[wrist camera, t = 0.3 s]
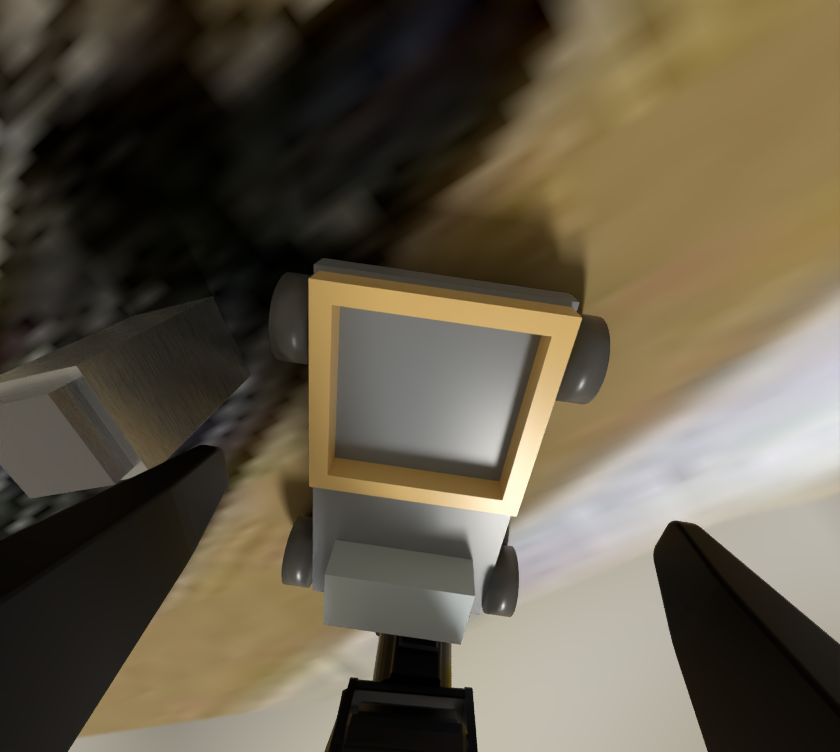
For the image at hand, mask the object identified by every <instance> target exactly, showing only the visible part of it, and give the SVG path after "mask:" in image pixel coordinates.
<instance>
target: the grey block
mask: <svg viewBox="0 0 840 752" xmlns="http://www.w3.org/2000/svg"><path fill="white" fill-rule="evenodd" d="M250 376H251V374H250V372H249V370H248V368H247V366H246V364H245V362H244V359H243V357H242V355H241V353H240V351H239V349H238V347H237V345H236V343H235V341H234V339H233V337H232V334H231V332H230V330H229V328H228V326H227V324H226V322H225V320H224V318H223V316H222V314H221V311H220V309H219V307H218V305H217V303H216V301H215V299H214V297H213V296H211V297H207V298H203V299H199V300H195V301H191V302H187V303H183V304H179V305H175V306H170V307H166V308H162V309H158V310H154V311H150V312H146V313H142V314H138V315H135V316H133V317H130V318H128V319H126V320H124V321H121V322H119V323H117V324H115V325H112V326H110V327H108V328H106V329H103V330H101V331H99V332H97V333H94V334H92V335H90V336H88V337H85V338H83V339H81V340H78V341H76V342H74V343H72V344H69V345H67V346H65V347H63V348H60V349H58V350H56V351H54V352H51V353H49V354H47V355H45V356H42V357H40V358H38V359H36V360H33V361H31V362H29V363H27V364H24V365H22V366H20V367H18V368H15V369H13V370H11V371H9V372H6V373H4V374H2V375H0V465H1V466H2V467H3V468H4V469H5V471H6V472H7V473H8V474H9V475H10V476H11V477H12V478H13V480H14V481H15V482H16V483H17V484H18V485H19V486H20V487H21V489H22V490H23V491H24V492H25V493H26V494H27V495H28V496H29V498H35V497H42V496H48V495H54V494H60V493H66V492H72V491H78V490H85V489H91V488H97V487H103V486H109V485H115V484H116V483H117V482H119V481H120V480H124V479H129V478H131V477H134V476H136V475H138V474H140V473H142V472H144V471H146V470H148V469H150V468H153V467H155V466H157V465H159V464H161V463H163V462H165V461H166V460H167V459H168V458H169V457H170V456H171V455H172V454H173V453H174V452H175V451H176V450H177V449H178V448H179V447H180V446H181V445H182V444H183V443H184V442H185V441H186V440H187V439H188V438H189V437H190V436H191V435H192V434H193V433H194V432H195V431H196V430H197V429H198V428H199V427H200V426H201V425H202V424H203V423H204V422H205V421H206V420H207V419H208V418H209V417H210V416H211V415H212V414H213V413H214V412H215V411H216V410H217V409H218V408H219V407H220V406H221V405H222V404H223V403H224V402H225V401H226V400H227V399H228V398H229V397H230V396H231V395H232V394H233V393H234V392H235V391H236V390H237V389H238V388H239V387H240V386H241V385H242V384H243V383H244V382H245V381H246V380H247V379H248V378H249V377H250Z"/></svg>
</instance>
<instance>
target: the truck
mask: <svg viewBox="0 0 840 752" xmlns="http://www.w3.org/2000/svg"><path fill="white" fill-rule="evenodd" d="M579 303H580V302H579V301H578V300H577V299H576V298H575V297H574V296H573V295H571V294H570V293H563V292H556V291H549V290H542V289H535V288H528V287H521V286H514V285H507V284H501V283H494V282H487V281H480V280H473V279H466V278H459V277H452V276H445V275H438V274H431V273H424V272H417V271H410V270H403V269H396V268H389V267H382V266H375V265H368V264H361V263H354V262H347V261H341V260H334V259H327V258H322V259H321V260H319V261H318V262H316V263H315V264H314V275H307V274H300V273H293V272H287V273H285V274H284V275H283V276H282V277H281V278H280V280H279V281H278V283H277V285H276V288H275V290H274V293H273V297H272V301H271V306H270V313H269V340H270V346H271V350H272V352H273V354H274V356H275V358H276V359H277V360H279V361H286V362H293V363H300V364H307V365H309V487H313V517H307V516H299V517H298V518H297V520H296V521H295V523H294V525H293V527H292V530H291V532H290V535H289V538H288V541H287V545H286V549H285V553H284V558H283V564H282V582H283V584H286V585H293V586H300V587H307V588H309V587H310V586H311V584H312V582H313V590H315V591H322V592H324V625H330V626H337V627H344V628H351V629H358V630H365V631H372V632H378V633H385V634H392V635H399V636H406V637H413V638H420V639H427V640H433V641H440V642H447V643H454V644H461V641H462V638H463V635H464V631H465V628H466V625H467V621H468V618H469V615H470V613H473V614H480V611H481V608H483V611H484V613H486V614H493V615H499V616H507V617H511V616H512V615H513V613H514V611H515V608H516V603H517V598H518V588H519V570H518V561H517V555H516V552H515V550H514V548H513V547H512V546H507V545H502V542H503V539H504V536H505V533H506V530H507V527H508V524H509V521H510V517H511V516H516V517H517V514H518V511H519V508H520V505H521V502H522V499H523V496H524V493H525V490H526V487H527V484H528V481H529V478H530V475H531V472H532V469H533V466H534V463H535V460H536V456H537V453H538V450H539V447H540V444H541V441H542V438H543V435H544V432H545V429H546V426H547V423H548V420H549V417H550V414H551V411H552V408H553V405H554V402H555V400H556V401H563V402H570V403H577V404H587V403H589V402H590V401H591V400H592V399H593V398H594V397H595V396H596V394H597V393H598V391H599V389H600V387H601V385H602V383H603V381H604V378H605V375H606V371H607V367H608V362H609V356H610V335H609V330H608V327H607V324H606V322H605V321H604V319H603V318H601V317H598V316H592V315H585V314H578V312H577V309H578V306H579Z"/></svg>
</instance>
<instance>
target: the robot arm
mask: <svg viewBox="0 0 840 752" xmlns="http://www.w3.org/2000/svg"><path fill="white" fill-rule="evenodd" d="M228 479H229V477H228V471H227V466H226V461H225V456H224V452H223V450H222V449H221V448H219V447H215V446H209V445H199V446H197V447H195V448H193V449H190V450H188V451H186V452H184V453H182V454H180V455H178V456H176V457H174V458H171V459H169V460H167V461H165V462H163V463H161V464H159V465H157V466H155V467H153V468H150V469H148V470H146V471H144V472H142V473H140V474H138V475H136V476H134V477H131V478H129V479H127V480H125V481H123V482H121V483H119V484H117V485H115V486H113V487H110V488H108V489H106V490H104V491H102V492H100V493H98V494H96V495H94V496H91V497H89V498H87V499H85V500H83V501H81V502H79V503H77V504H75V505H73V506H70V507H68V508H66V509H64V510H62V511H60V512H58V513H56V514H54V515H51V516H49V517H47V518H45V519H43V520H41V521H39V522H37V523H35V524H32V525H30V526H28V527H26V528H24V529H22V530H20V531H18V532H16V533H13V534H11V535H9V536H7V537H5V538H3V539H1V540H0V752H68V750H69V749H70V747H71V746H72V744H73V743H74V741H75V739H76V738H77V736H78V735H79V733H80V732H81V730H82V728H83V727H84V725H85V724H86V722H87V721H88V719H89V717H90V716H91V714H92V713H93V711H94V710H95V708H96V706H97V705H98V703H99V702H100V700H101V699H102V697H103V695H104V694H105V692H106V691H107V689H108V688H109V686H110V684H111V683H112V681H113V680H114V678H115V677H116V675H117V673H118V672H119V670H120V669H121V667H122V666H123V664H124V662H125V661H126V659H127V658H128V656H129V655H130V653H131V651H132V650H133V648H134V647H135V645H136V643H137V642H138V640H139V639H140V637H141V636H142V634H143V632H144V631H145V629H146V628H147V626H148V625H149V623H150V621H151V620H152V618H153V617H154V615H155V614H156V612H157V610H158V609H159V607H160V606H161V604H162V603H163V601H164V599H165V598H166V596H167V595H168V593H169V592H170V590H171V588H172V587H173V585H174V584H175V582H176V581H177V579H178V577H179V576H180V574H181V573H182V571H183V570H184V568H185V566H186V565H187V563H188V561H189V560H190V558H191V556H192V555H193V553H194V551H195V549H196V547H197V545H198V543H199V541H200V539H201V537H202V535H203V533H204V532H205V530H206V528H207V526H208V524H209V522H210V520H211V518H212V516H213V514H214V512H215V510H216V508H217V506H218V504H219V502H220V500H221V498H222V496H223V494H224V492H225V490H226V488H227V485H228ZM653 557H654V564H655V568H656V573H657V577H658V581H659V586H660V590H661V595H662V600H663V604H664V608H665V613H666V617H667V622H668V626H669V631H670V635H671V639H672V643H673V646H674V649H675V653H676V656H677V659H678V662H679V665H680V668H681V671H682V674H683V677H684V681H685V684H686V686H687V690H688V692H689V695H690V699H691V702H692V705H693V708H694V711H695V714H696V717H697V720H698V723H699V726H700V729H701V732H702V735H703V739H704V741H705V745H706V748H707V751H708V752H840V644H839V643H838V642H837V641H835V640H834V639H833V638H832V637H831V636H829V635H828V634H827V633H826V632H825V631H823V630H822V629H821V628H820V627H819V626H818V625H816V624H815V623H814V622H813V621H812V620H810V619H809V618H808V617H807V616H806V615H804V614H803V613H802V612H801V611H799V610H798V609H797V608H796V607H795V606H794V605H792V604H791V603H790V602H789V601H788V600H786V599H785V598H784V597H783V596H782V595H780V594H779V593H778V592H777V591H776V590H775V589H773V588H772V587H771V586H770V585H769V584H767V583H766V582H765V581H764V580H762V579H761V578H760V577H759V576H758V575H757V574H755V573H754V572H753V571H752V570H751V569H749V568H748V567H747V566H746V565H745V564H744V563H742V562H741V561H740V560H739V559H738V558H736V557H735V556H734V555H733V554H732V553H730V552H729V551H728V550H727V549H726V548H724V547H723V546H722V545H721V544H720V543H718V542H717V541H716V540H715V539H714V538H712V537H711V536H710V535H709V534H708V533H707V532H705V531H704V530H703V529H702V528H701V527H699V526H698V525H696V524H693V523H688V522H681V521H672V522H670V523H669V524H668V525H667V527H666V529H665V531H664V532H663V534H662V536H661V537H660V539H659V541H658V543H657V544H656V546H655V548H654V554H653ZM376 635H377V636H379V642H378V649H377V655H376V662H375V668H374V675H373V681H369V680H358V678H352V677H351V678H350V681H349V684H348V688H347V689H345V690H343V692H342V696H341V701H340V706H339V711H338V715H337V719H336V722H335V725H334V727H333V730H332V733H331V736H330V738H329V741H328V744H327V746H326V749H325V752H478V751H477V738H476V726H475V715H474V702H473V691H472V690H473V689H472V688H470V687H465V688H464V689H463V688H451V643H447V642H440V641H433V640H427V639H420V638H413V637H406V636H399V635H392V634H385V633H378V632H376Z"/></svg>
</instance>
